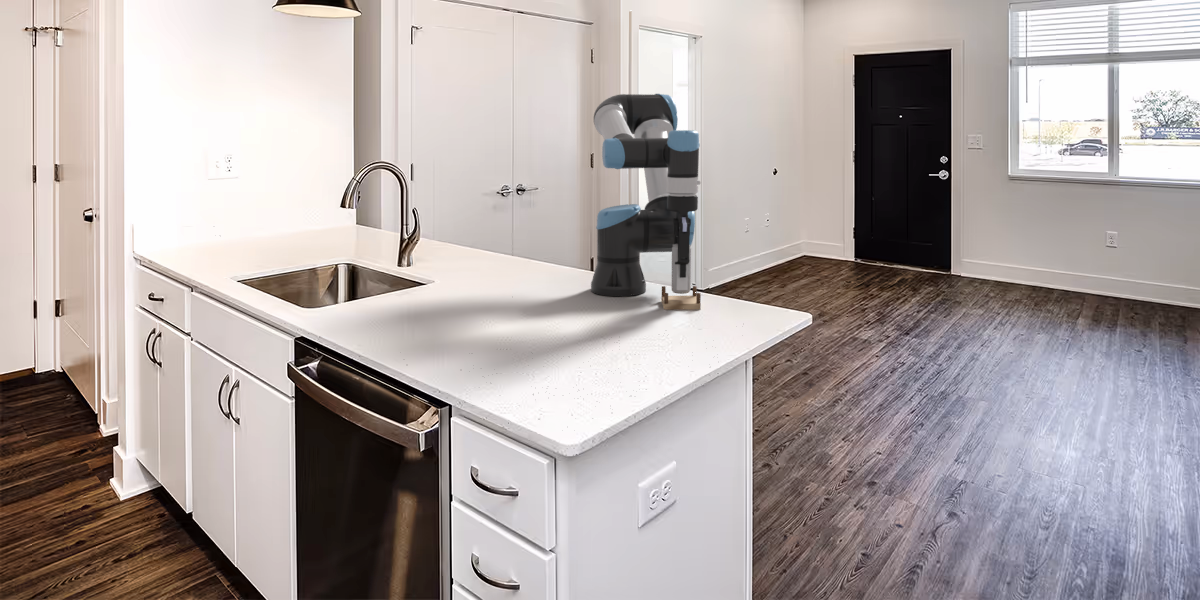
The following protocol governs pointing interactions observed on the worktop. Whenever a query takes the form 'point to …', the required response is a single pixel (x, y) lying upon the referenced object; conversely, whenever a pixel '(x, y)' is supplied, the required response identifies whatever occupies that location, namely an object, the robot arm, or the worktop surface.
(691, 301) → the stand
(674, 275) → the beverage can
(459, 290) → the worktop surface
